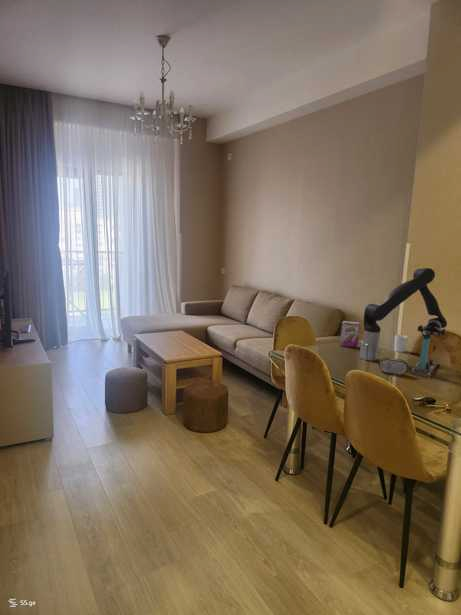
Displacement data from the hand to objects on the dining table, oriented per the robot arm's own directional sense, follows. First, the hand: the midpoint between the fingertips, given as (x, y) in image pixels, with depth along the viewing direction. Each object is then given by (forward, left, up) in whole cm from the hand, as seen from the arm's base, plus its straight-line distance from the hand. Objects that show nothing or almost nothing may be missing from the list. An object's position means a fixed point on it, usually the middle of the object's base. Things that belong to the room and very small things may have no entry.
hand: (429, 332), depth 241 cm
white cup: (+13, +37, -22) cm, 44 cm away
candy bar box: (-17, +51, -22) cm, 58 cm away
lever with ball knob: (-6, -5, -20) cm, 22 cm away
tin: (-25, -4, -22) cm, 34 cm away
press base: (+1, +1, -22) cm, 22 cm away
